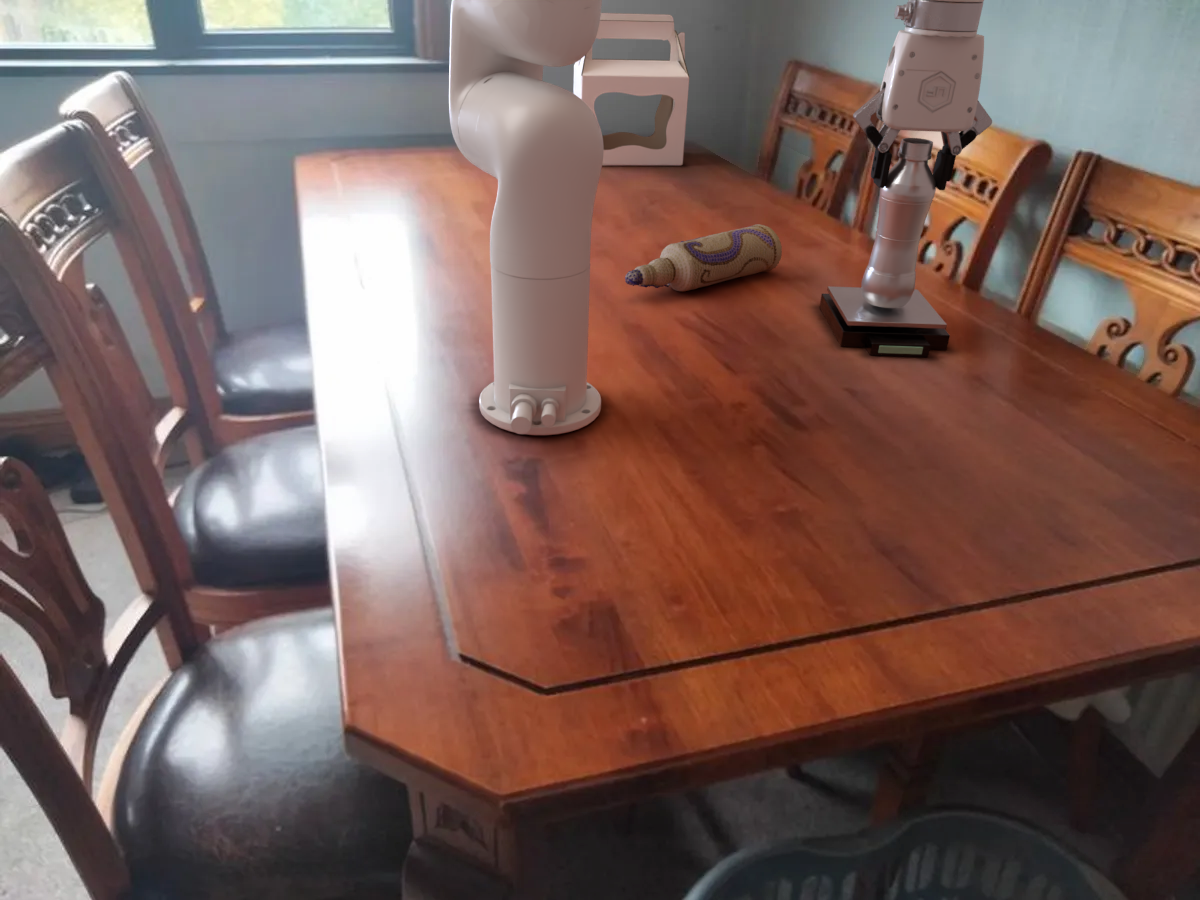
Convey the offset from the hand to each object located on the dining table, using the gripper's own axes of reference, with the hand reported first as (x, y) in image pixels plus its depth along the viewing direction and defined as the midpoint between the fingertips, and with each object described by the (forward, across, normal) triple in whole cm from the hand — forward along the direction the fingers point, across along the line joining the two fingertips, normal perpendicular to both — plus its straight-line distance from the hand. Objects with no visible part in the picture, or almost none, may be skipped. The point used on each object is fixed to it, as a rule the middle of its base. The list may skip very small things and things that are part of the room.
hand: (908, 184), depth 107 cm
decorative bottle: (+18, -22, +15) cm, 32 cm away
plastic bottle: (+15, 0, 0) cm, 15 cm away
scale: (+18, 0, -1) cm, 18 cm away
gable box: (+18, -31, +90) cm, 97 cm away
